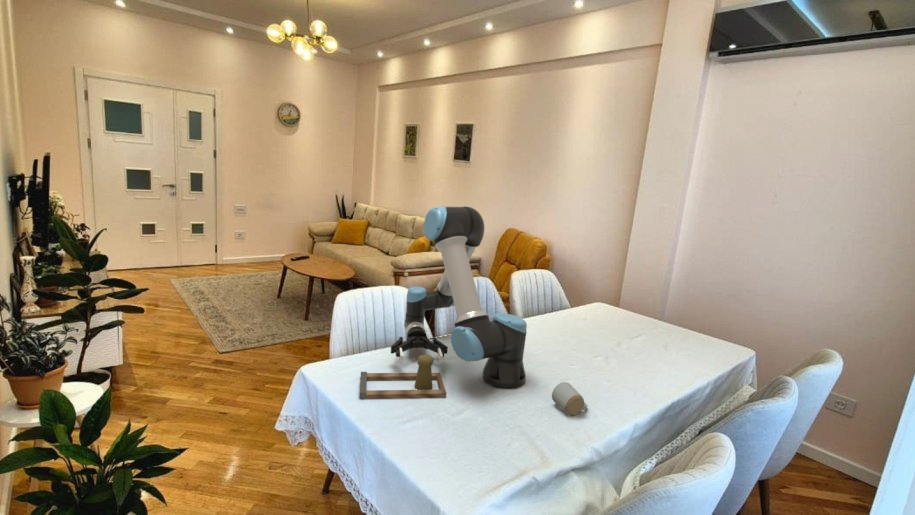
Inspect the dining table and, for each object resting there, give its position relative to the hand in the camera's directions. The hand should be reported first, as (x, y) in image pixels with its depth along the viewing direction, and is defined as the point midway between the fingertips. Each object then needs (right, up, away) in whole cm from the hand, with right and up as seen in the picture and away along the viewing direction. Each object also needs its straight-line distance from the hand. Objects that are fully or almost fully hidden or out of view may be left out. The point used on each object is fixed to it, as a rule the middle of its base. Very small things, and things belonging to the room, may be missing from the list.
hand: (421, 359), depth 154 cm
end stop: (-18, -7, -8) cm, 21 cm away
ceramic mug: (+48, -14, -10) cm, 51 cm away
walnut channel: (-5, -8, -5) cm, 11 cm away
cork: (+1, -8, -4) cm, 9 cm away
